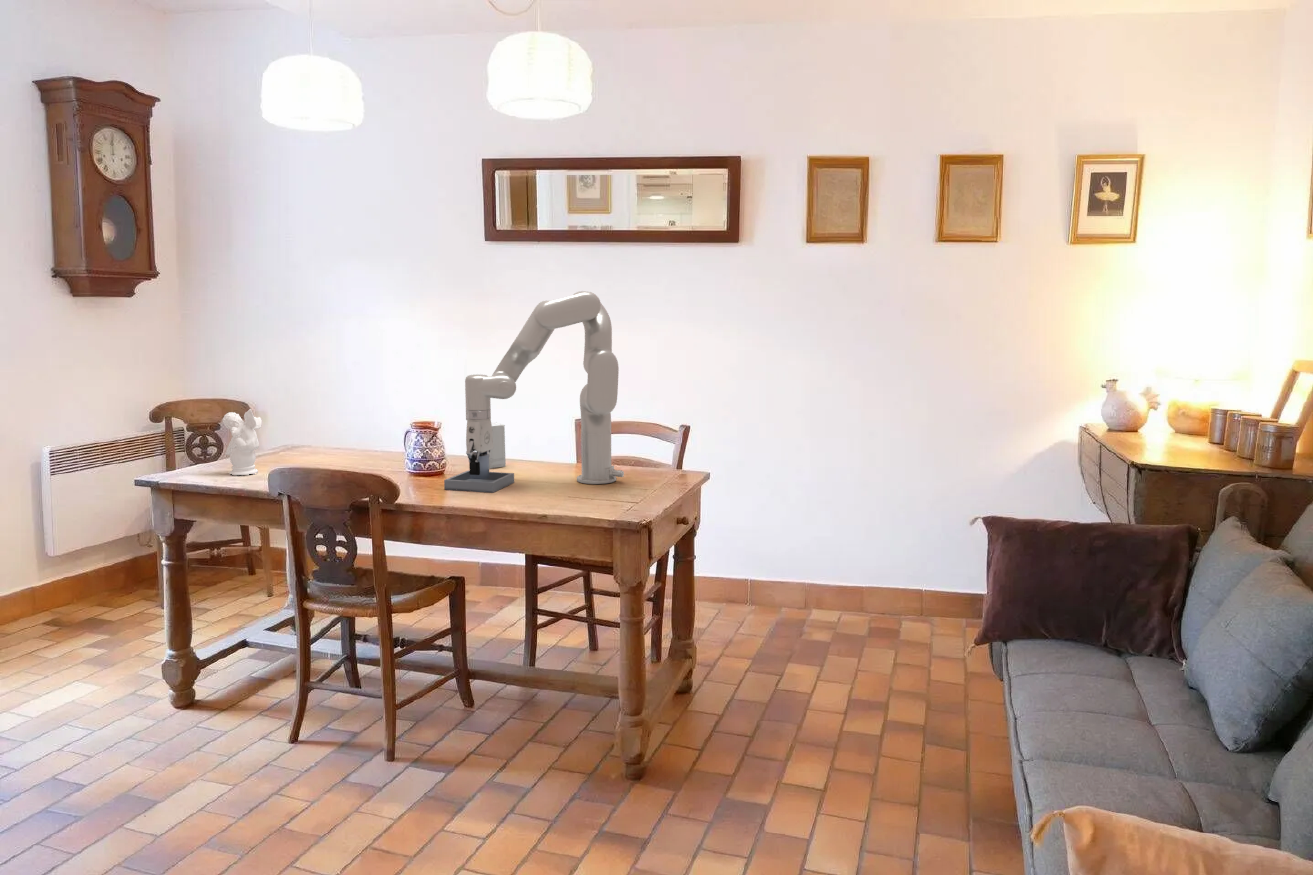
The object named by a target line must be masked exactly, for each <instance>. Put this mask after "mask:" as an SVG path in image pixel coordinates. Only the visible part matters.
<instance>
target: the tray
mask: <svg viewBox="0 0 1313 875" xmlns="http://www.w3.org/2000/svg"><path fill="white" fill-rule="evenodd" d="M443 483H444V484H443V485H444V486H443V487H444V491H457V492H458V491H460V492H476V493H489V494H490V493H491V494H492V493H496V492H498V491H500V490H502V489H503V488H506V487H508V486H510V485H513V484H514V483H515V473H514V472H502V471H501V472H497V471H489V478H486V479H471V478H470V470H465V471H463V472H461V473H458V474H456V475H453V476H451V477H448V478H446V479H444V482H443Z"/></svg>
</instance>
